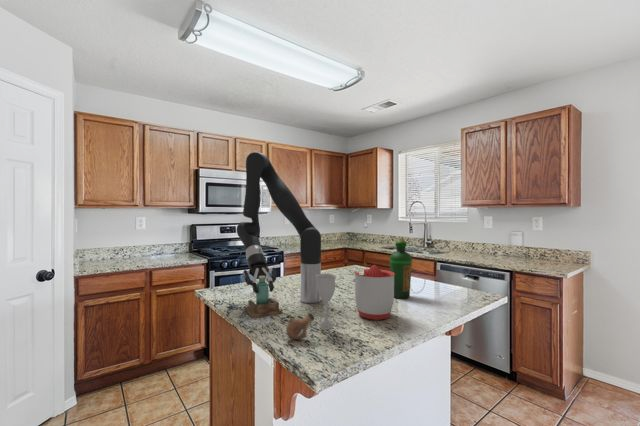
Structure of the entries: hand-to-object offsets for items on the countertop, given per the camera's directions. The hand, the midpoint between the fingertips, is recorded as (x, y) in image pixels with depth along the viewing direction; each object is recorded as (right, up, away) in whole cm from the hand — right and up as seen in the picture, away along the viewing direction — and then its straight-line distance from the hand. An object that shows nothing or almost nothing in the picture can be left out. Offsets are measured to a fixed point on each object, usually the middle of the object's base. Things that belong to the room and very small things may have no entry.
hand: (264, 291), depth 126 cm
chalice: (+24, -9, -15) cm, 30 cm away
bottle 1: (-1, -7, +2) cm, 8 cm away
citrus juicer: (+43, -9, -2) cm, 44 cm away
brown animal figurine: (+16, -9, -26) cm, 32 cm away
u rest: (-1, -8, +2) cm, 9 cm away
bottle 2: (+61, -9, +25) cm, 66 cm away
